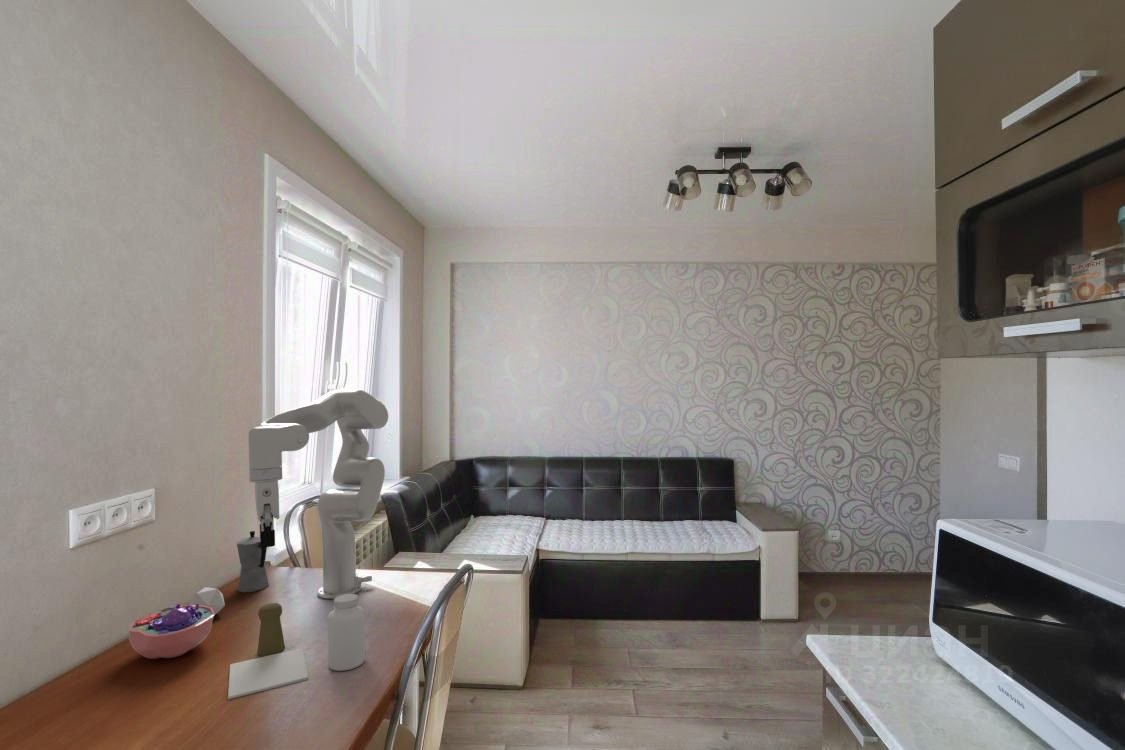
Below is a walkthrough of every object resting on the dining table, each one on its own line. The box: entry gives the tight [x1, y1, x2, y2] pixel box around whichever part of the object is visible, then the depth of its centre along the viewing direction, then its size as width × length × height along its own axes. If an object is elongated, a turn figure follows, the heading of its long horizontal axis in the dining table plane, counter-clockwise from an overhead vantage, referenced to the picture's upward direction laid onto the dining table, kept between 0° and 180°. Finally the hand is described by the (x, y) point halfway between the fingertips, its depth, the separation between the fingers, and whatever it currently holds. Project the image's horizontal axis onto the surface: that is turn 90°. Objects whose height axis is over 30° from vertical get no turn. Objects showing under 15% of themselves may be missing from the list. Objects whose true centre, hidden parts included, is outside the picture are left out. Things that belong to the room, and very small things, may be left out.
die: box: [188, 586, 226, 615], centre depth 161 cm, size 8×9×10 cm
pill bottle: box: [327, 593, 366, 672], centre depth 131 cm, size 8×8×15 cm
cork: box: [256, 602, 286, 657], centre depth 139 cm, size 6×6×11 cm
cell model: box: [128, 603, 216, 659], centre depth 139 cm, size 17×20×11 cm
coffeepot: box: [236, 530, 270, 593], centre depth 183 cm, size 15×9×18 cm, turn 51°
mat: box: [227, 647, 309, 700], centre depth 128 cm, size 15×16×1 cm
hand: (267, 542), depth 147 cm, fingers open, 8 cm apart
